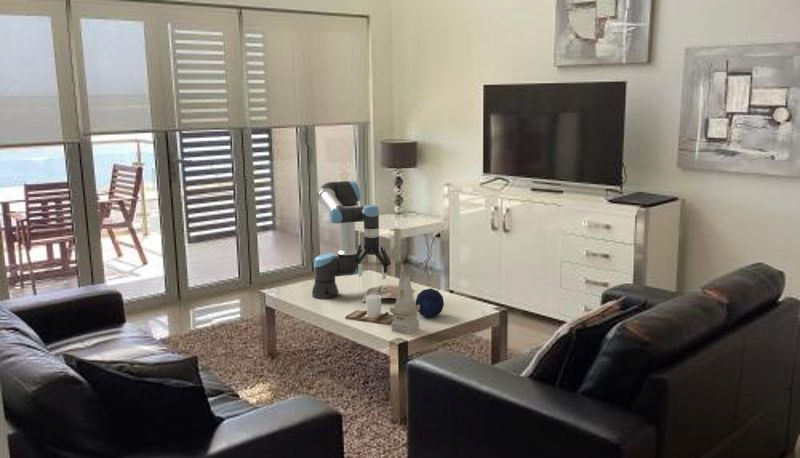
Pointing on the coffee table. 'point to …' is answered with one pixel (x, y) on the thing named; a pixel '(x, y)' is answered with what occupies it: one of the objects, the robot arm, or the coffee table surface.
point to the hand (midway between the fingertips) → (372, 277)
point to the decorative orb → (430, 302)
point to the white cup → (373, 305)
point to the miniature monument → (405, 307)
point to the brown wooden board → (363, 316)
